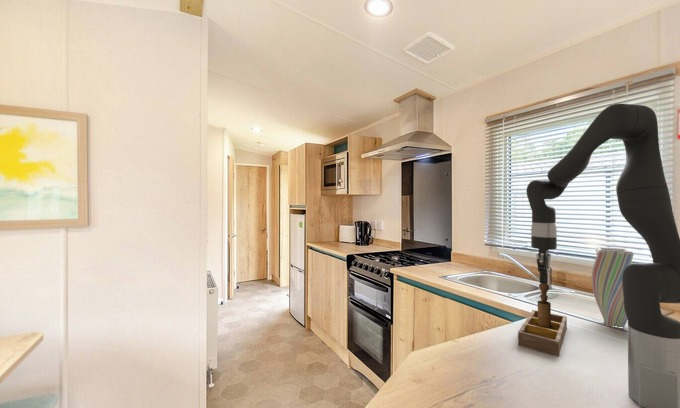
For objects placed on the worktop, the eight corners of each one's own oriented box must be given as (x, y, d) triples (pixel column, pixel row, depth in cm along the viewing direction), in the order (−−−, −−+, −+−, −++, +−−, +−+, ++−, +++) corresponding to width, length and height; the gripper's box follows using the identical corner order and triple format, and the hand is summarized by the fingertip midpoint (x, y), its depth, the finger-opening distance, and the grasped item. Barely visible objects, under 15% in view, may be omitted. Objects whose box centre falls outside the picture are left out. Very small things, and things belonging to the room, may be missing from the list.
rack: (558, 356, 91) (558, 342, 91) (518, 345, 98) (518, 331, 98) (566, 328, 111) (566, 316, 111) (532, 320, 119) (532, 309, 119)
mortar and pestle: (534, 334, 103) (534, 284, 103) (532, 328, 109) (531, 280, 109) (557, 338, 100) (557, 286, 100) (553, 331, 106) (553, 282, 106)
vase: (632, 323, 116) (632, 248, 116) (643, 336, 105) (643, 253, 105) (588, 316, 124) (588, 245, 124) (594, 327, 112) (593, 249, 112)
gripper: (554, 237, 97) (554, 289, 97) (558, 234, 107) (558, 281, 107) (528, 236, 102) (528, 285, 102) (534, 233, 112) (534, 277, 112)
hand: (543, 283), depth 105 cm, fingers closed
